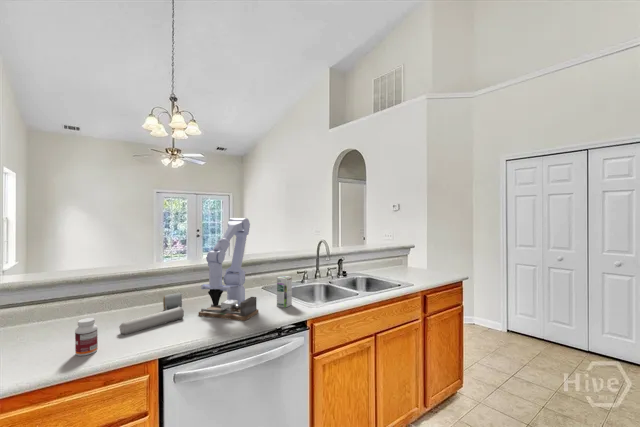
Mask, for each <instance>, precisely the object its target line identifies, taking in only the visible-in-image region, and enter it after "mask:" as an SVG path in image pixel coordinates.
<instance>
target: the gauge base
mask: <svg viewBox="0 0 640 427" xmlns="http://www.w3.org/2000/svg"><path fill="white" fill-rule="evenodd" d="M221 311H222V310H221V304H218V305H217V306H213V303H211V304H210V306H209V307H207V308H201V309H200V311H199V312H198V313H197V314H198V316H199V317H209V318H217V319H225V320H226V319H227V320H235V321H243V322H245V321H247V320H249V319H250V318H252V317H254V316H256V315H257V314H259V309H258V308H257V297H256V296H250V297H248V298H247V299H246V298H245V300H244V301H242V302H240V309H237V310H235V311H233V312H232V311H223V312H221Z"/></svg>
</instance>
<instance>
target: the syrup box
mask: <svg viewBox="0 0 640 427" xmlns="http://www.w3.org/2000/svg"><path fill="white" fill-rule="evenodd" d="M292 280H293V278H292V276H286V275H280V276H278V277H276V307H280V308H285V309H286V308H288V307H290V306H292V304H293V301H292V300H293V295H292V294H293V283H292V282H293V281H292Z"/></svg>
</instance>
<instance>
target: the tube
mask: <svg viewBox="0 0 640 427" xmlns="http://www.w3.org/2000/svg"><path fill="white" fill-rule="evenodd" d="M184 313H185V311H184V309H183V306H182V307H178V308H174V309H170V310H163V311H160V312H155V313H151V314H148V315H144V316H140V317H136V318H133V319H129V320H125V321H122V322H121V324H119V326H118V328H119V331H120V334H121V335H122V334H123V335H129V334H132V333H135V332H139V331H143V330H146V329H150V328H153V327H157V326H159V325H160V326H161V325H164V324H167V323H171V322H175V321H178V320H181V319H183V318H184V316H185V315H184Z"/></svg>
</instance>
